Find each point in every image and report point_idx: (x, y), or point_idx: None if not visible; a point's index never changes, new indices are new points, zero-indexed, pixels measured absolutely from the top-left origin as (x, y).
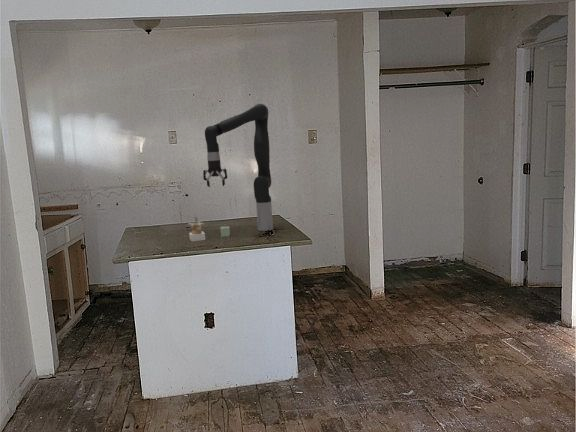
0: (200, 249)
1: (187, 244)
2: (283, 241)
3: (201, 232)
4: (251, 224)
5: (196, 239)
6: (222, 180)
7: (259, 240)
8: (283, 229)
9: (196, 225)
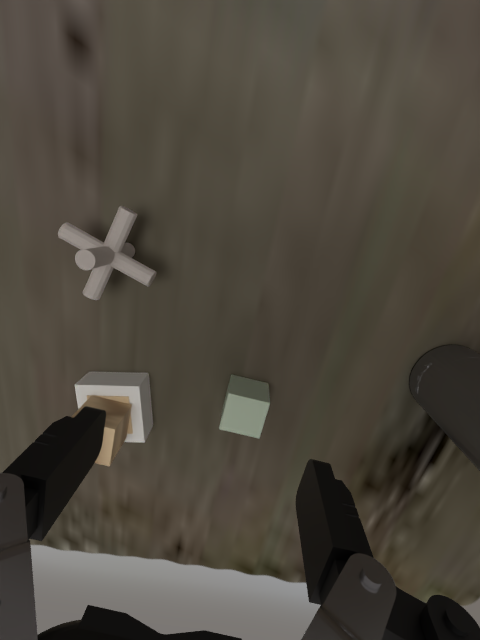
0: (125, 545)
1: None
2: (403, 586)
3: (130, 420)
4: (449, 196)
5: None
6: (314, 593)
7: None
8: None
9: None
